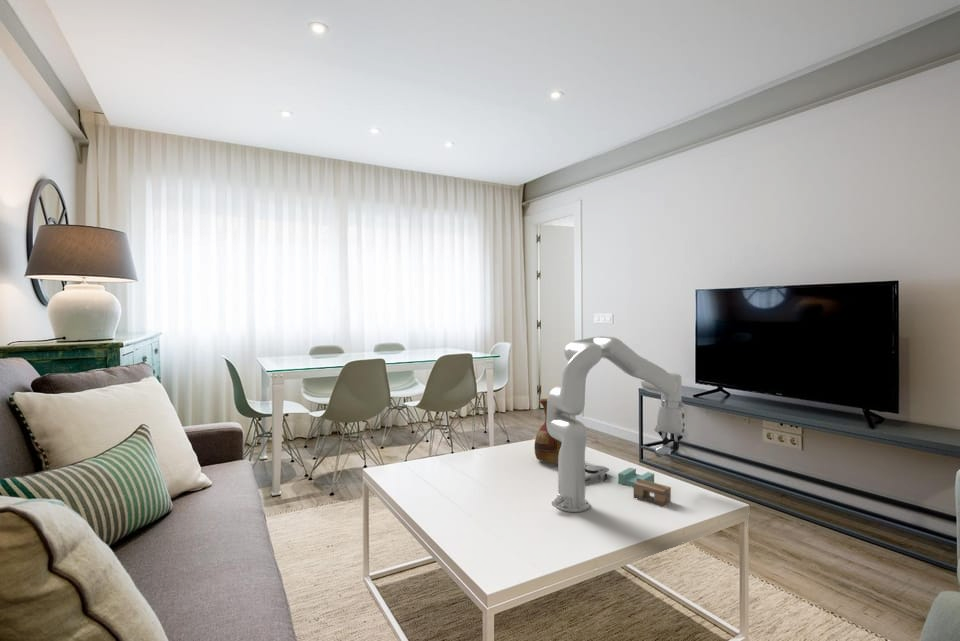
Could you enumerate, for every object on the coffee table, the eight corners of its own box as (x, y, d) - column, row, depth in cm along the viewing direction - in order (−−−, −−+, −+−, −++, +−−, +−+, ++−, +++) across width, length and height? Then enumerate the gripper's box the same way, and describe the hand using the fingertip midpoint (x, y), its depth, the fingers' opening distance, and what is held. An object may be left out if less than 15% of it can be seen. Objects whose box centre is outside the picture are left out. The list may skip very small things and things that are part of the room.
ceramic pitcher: (553, 452, 235) (553, 392, 235) (586, 462, 220) (586, 398, 219) (525, 460, 223) (525, 397, 222) (558, 471, 207) (558, 404, 207)
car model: (556, 482, 196) (556, 470, 196) (596, 471, 209) (596, 459, 209) (575, 491, 186) (575, 478, 186) (616, 478, 200) (616, 466, 200)
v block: (643, 489, 186) (643, 479, 186) (618, 483, 194) (618, 473, 194) (654, 483, 193) (654, 473, 193) (629, 476, 201) (629, 467, 201)
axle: (663, 457, 180) (662, 448, 180) (655, 456, 182) (654, 448, 182) (677, 449, 190) (676, 441, 190) (670, 448, 192) (669, 441, 192)
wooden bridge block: (663, 506, 170) (663, 491, 170) (633, 497, 178) (633, 483, 178) (670, 501, 175) (670, 487, 175) (640, 493, 183) (640, 479, 183)
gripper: (695, 405, 186) (695, 452, 186) (655, 400, 197) (654, 443, 198) (688, 408, 180) (688, 456, 181) (647, 402, 192) (647, 447, 192)
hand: (670, 449), depth 189 cm, fingers closed on axle, 3 cm apart
